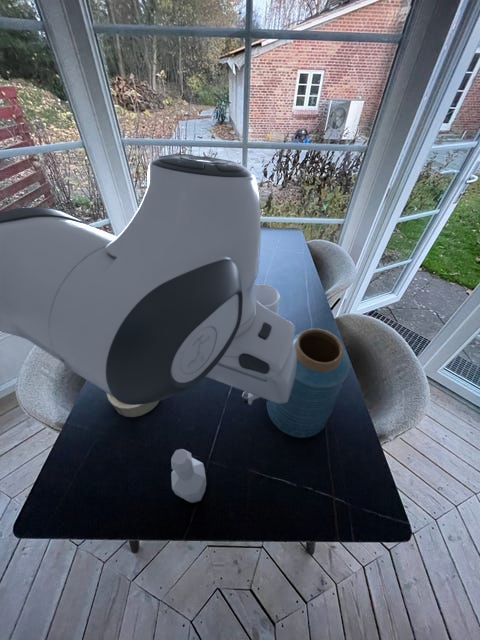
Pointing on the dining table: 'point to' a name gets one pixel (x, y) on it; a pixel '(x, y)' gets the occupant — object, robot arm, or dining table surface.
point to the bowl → (130, 407)
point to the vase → (312, 384)
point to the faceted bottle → (187, 476)
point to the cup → (267, 296)
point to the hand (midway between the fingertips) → (218, 387)
